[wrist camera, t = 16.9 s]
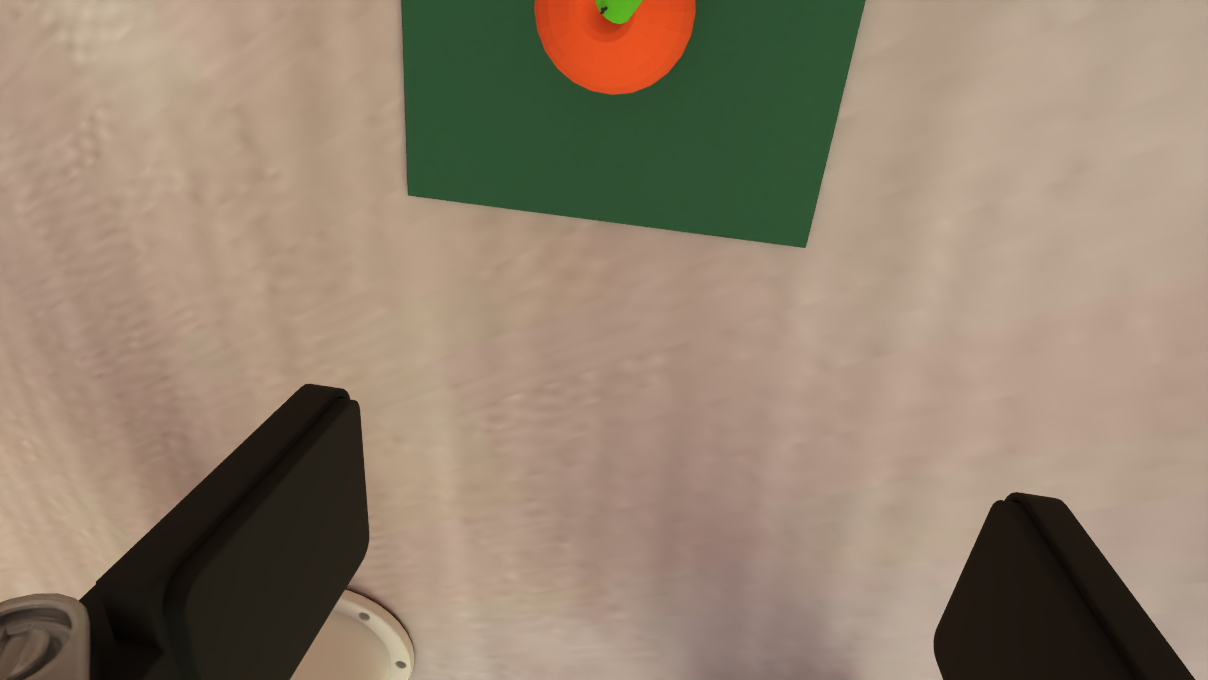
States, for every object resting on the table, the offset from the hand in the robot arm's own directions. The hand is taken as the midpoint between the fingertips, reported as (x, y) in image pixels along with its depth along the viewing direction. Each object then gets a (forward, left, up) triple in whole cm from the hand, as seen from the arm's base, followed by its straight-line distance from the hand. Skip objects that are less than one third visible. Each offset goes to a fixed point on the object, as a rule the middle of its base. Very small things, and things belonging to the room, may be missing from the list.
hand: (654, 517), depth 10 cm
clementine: (-4, +7, -28) cm, 29 cm away
